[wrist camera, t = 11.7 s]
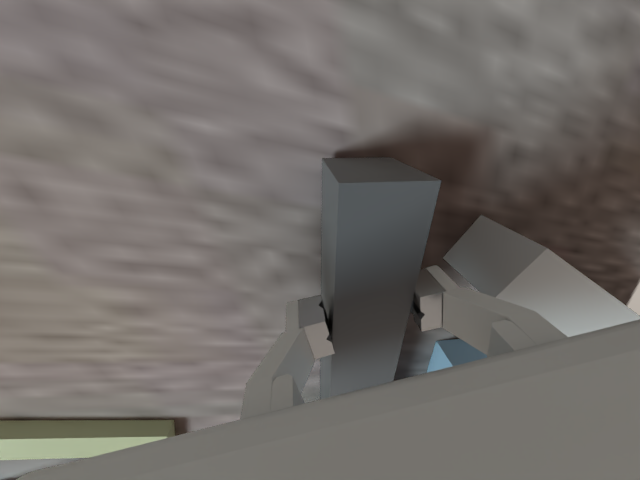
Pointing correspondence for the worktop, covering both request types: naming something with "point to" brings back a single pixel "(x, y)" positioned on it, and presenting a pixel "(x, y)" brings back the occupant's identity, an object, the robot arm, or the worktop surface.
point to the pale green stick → (77, 437)
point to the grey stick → (534, 279)
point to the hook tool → (370, 264)
